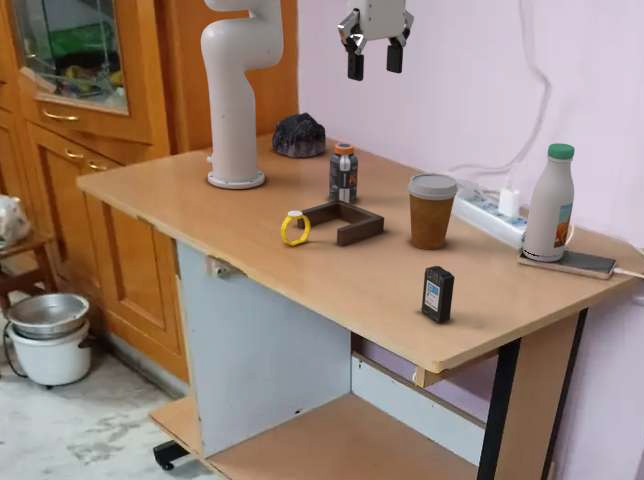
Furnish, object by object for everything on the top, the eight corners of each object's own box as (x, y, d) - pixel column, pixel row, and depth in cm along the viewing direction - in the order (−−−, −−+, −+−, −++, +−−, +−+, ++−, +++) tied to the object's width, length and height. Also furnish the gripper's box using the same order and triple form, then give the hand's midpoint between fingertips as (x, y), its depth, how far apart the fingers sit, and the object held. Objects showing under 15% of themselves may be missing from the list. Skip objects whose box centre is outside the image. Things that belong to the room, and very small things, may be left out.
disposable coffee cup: (457, 238, 167) (464, 176, 159) (445, 256, 159) (451, 192, 152) (411, 231, 169) (415, 169, 161) (397, 248, 162) (401, 184, 154)
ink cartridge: (420, 312, 140) (424, 266, 135) (431, 309, 141) (436, 263, 136) (438, 324, 137) (443, 277, 132) (449, 321, 138) (454, 275, 133)
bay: (297, 226, 168) (296, 211, 166) (338, 213, 175) (338, 199, 173) (342, 246, 161) (342, 230, 159) (383, 232, 168) (384, 217, 166)
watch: (304, 238, 164) (304, 207, 160) (312, 242, 162) (313, 212, 158) (278, 244, 161) (278, 213, 157) (287, 249, 159) (286, 218, 155)
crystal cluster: (278, 144, 214) (273, 102, 207) (331, 142, 213) (328, 101, 206) (269, 164, 204) (263, 121, 198) (324, 163, 203) (320, 120, 196)
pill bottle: (353, 206, 179) (355, 150, 172) (326, 203, 180) (327, 147, 173) (359, 196, 183) (361, 142, 176) (332, 194, 184) (333, 139, 177)
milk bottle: (538, 265, 158) (558, 154, 145) (514, 250, 163) (531, 142, 151) (571, 259, 161) (593, 150, 148) (546, 244, 166) (565, 138, 153)
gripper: (398, -47, 141) (392, 65, 152) (324, -42, 131) (323, 78, 142) (432, -42, 137) (424, 73, 148) (359, -37, 127) (355, 87, 138)
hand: (375, 75), depth 145 cm, fingers open, 9 cm apart
